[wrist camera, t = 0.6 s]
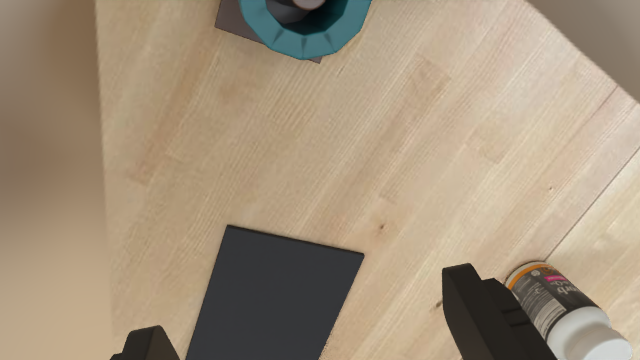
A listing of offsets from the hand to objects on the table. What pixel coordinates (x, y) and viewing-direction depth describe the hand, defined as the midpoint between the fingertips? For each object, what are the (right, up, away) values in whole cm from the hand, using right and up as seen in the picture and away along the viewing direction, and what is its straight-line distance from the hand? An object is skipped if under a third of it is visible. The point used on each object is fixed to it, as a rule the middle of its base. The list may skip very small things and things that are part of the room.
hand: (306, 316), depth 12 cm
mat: (-5, -10, +26) cm, 29 cm away
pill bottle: (+21, -6, +30) cm, 37 cm away
